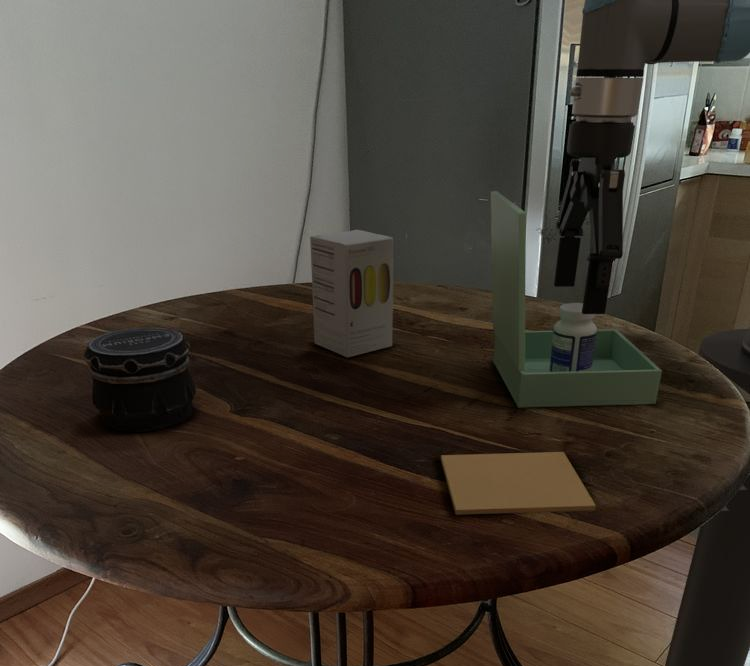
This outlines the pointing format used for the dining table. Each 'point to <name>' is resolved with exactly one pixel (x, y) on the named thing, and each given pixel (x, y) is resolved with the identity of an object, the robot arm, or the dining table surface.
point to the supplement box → (352, 291)
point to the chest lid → (509, 276)
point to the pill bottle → (573, 340)
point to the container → (141, 378)
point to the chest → (580, 374)
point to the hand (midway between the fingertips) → (577, 299)
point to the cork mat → (514, 483)
